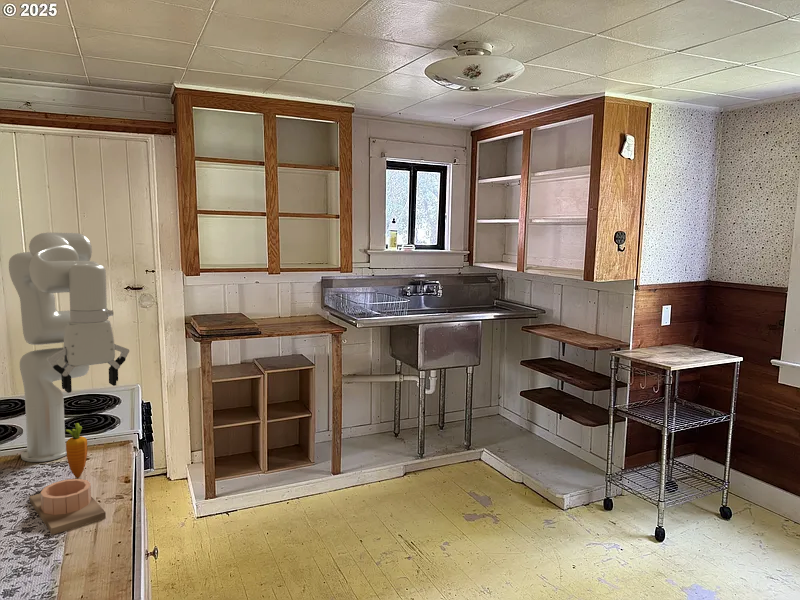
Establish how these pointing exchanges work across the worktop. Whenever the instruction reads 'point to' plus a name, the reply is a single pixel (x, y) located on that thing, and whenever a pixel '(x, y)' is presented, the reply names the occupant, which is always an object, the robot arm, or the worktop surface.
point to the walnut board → (68, 516)
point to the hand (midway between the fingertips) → (90, 387)
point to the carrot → (76, 451)
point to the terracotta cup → (65, 496)
